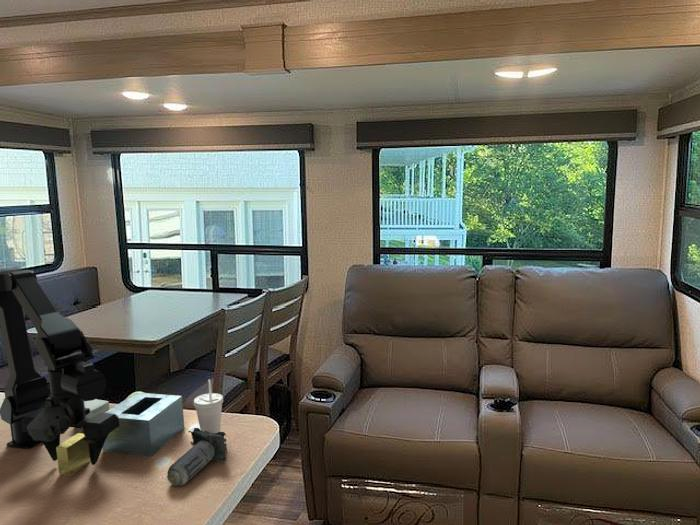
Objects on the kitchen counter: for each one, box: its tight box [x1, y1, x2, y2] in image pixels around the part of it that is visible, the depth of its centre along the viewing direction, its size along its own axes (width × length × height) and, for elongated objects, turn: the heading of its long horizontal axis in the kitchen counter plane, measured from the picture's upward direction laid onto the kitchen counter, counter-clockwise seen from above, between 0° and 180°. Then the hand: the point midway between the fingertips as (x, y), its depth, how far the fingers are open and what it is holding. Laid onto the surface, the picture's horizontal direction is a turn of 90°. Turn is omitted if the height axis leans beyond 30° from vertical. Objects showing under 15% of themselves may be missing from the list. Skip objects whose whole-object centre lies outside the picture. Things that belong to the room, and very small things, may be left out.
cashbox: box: [102, 392, 185, 457], centre depth 119 cm, size 12×13×8 cm
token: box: [56, 432, 91, 477], centre depth 108 cm, size 2×6×6 cm, turn 167°
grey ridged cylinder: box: [166, 427, 228, 487], centre depth 105 cm, size 9×8×12 cm
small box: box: [84, 398, 110, 419], centre depth 129 cm, size 6×6×5 cm
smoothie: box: [193, 379, 224, 433], centre depth 118 cm, size 6×6×14 cm
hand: (74, 461), depth 108 cm, fingers open, 9 cm apart
